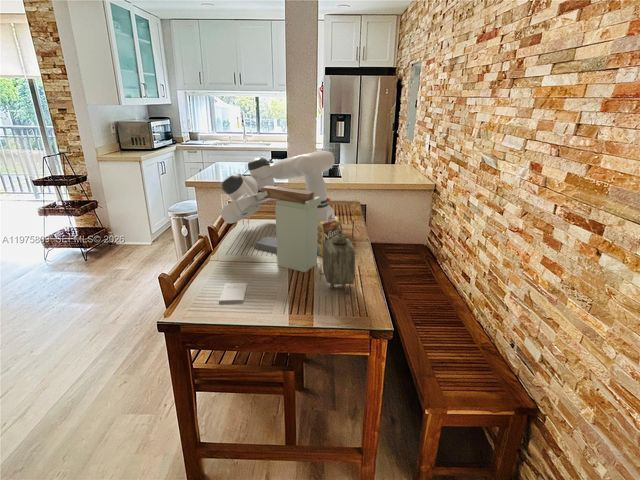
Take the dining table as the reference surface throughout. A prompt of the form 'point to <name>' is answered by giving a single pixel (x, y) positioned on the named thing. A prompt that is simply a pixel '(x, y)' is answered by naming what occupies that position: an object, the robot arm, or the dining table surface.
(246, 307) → the dining table surface
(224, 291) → the external hard drive
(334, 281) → the grey-green rolling suitcase
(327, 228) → the candy box
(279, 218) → the shelf block
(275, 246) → the grey board
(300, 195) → the slim box
